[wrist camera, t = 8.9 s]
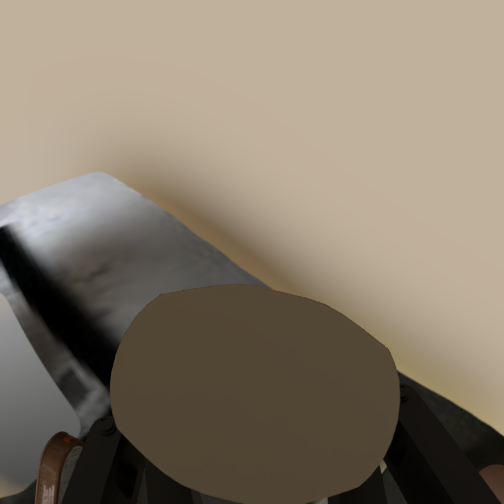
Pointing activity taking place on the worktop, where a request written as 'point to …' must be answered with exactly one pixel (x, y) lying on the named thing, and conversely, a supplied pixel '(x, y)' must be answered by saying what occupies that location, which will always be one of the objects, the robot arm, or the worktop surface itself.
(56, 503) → the tin
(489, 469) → the travel mug
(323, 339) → the handle
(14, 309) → the worktop surface
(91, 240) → the worktop surface
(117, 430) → the robot arm
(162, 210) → the worktop surface
